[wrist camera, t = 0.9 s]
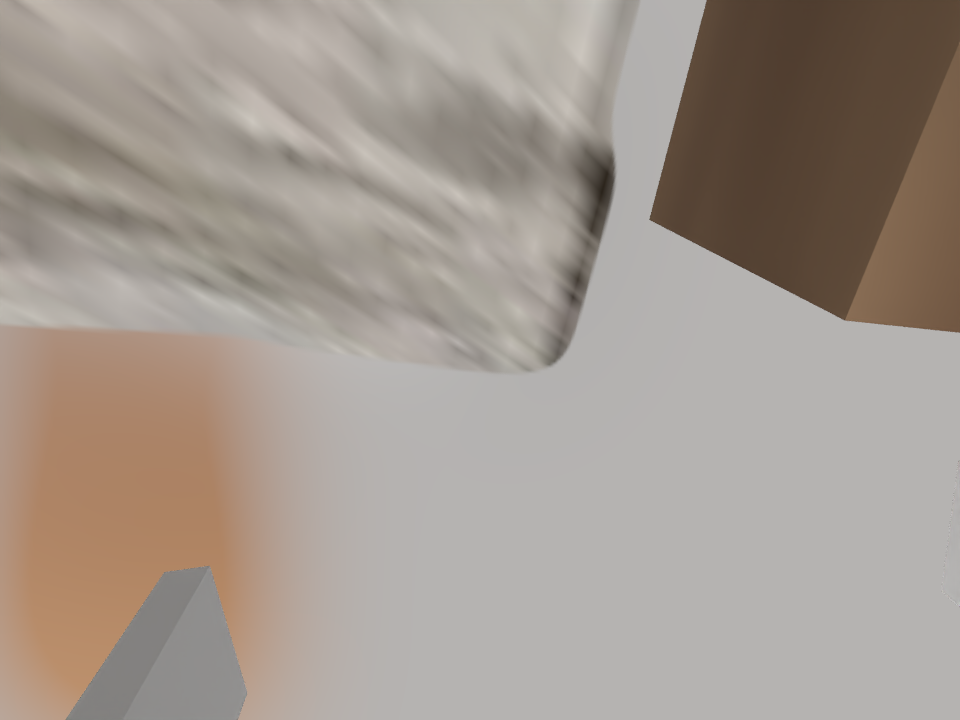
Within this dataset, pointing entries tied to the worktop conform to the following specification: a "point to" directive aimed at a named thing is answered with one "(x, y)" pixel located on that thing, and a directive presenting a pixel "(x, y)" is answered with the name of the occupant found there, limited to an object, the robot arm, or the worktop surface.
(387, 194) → the worktop surface
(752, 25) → the brown block
